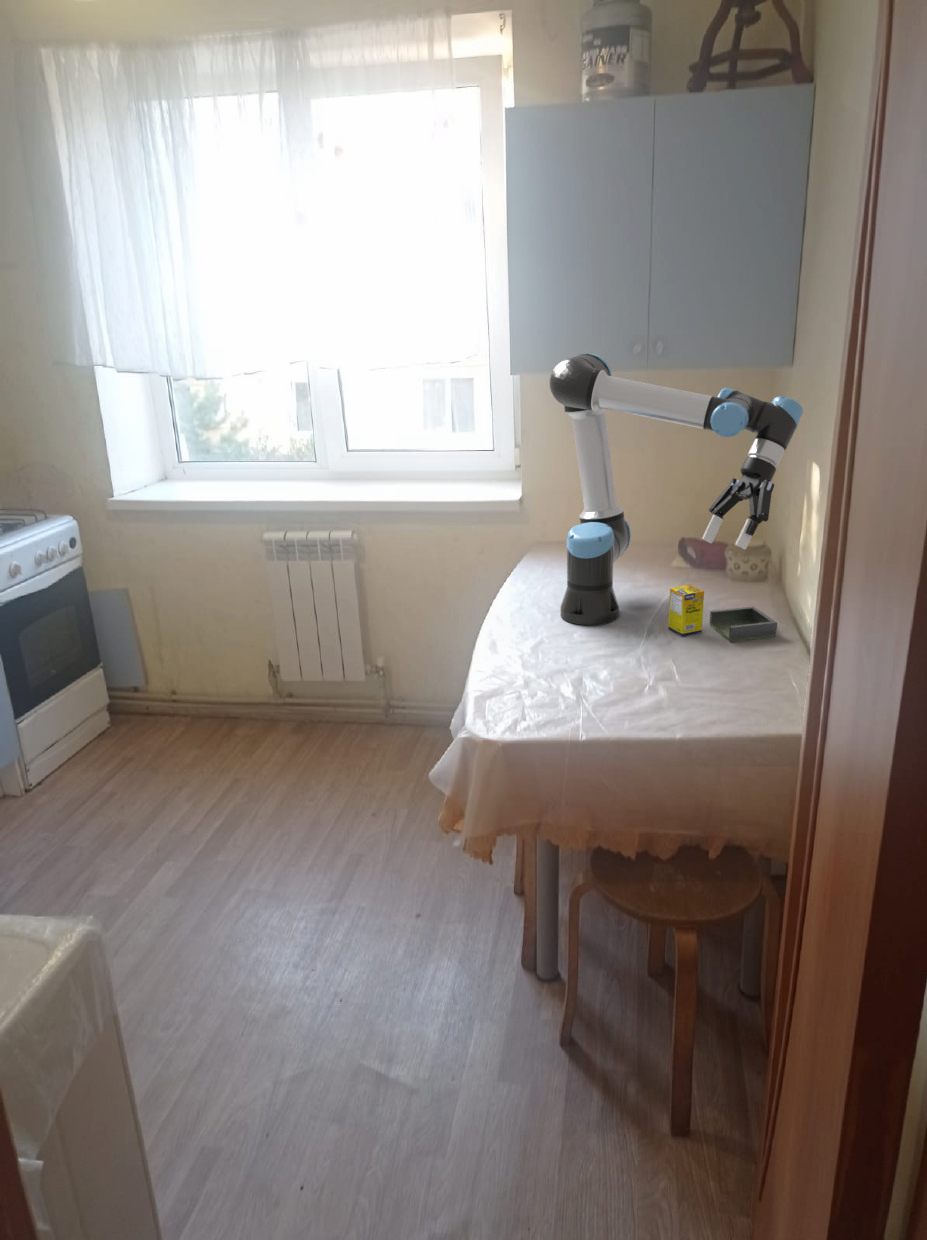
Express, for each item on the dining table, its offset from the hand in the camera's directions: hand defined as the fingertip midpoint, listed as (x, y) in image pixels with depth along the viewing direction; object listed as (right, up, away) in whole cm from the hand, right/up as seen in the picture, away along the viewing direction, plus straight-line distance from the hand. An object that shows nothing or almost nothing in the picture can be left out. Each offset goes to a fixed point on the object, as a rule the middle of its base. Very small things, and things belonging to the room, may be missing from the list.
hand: (722, 544), depth 208 cm
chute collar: (+7, -21, +7) cm, 23 cm away
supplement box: (-7, -21, +8) cm, 24 cm away
